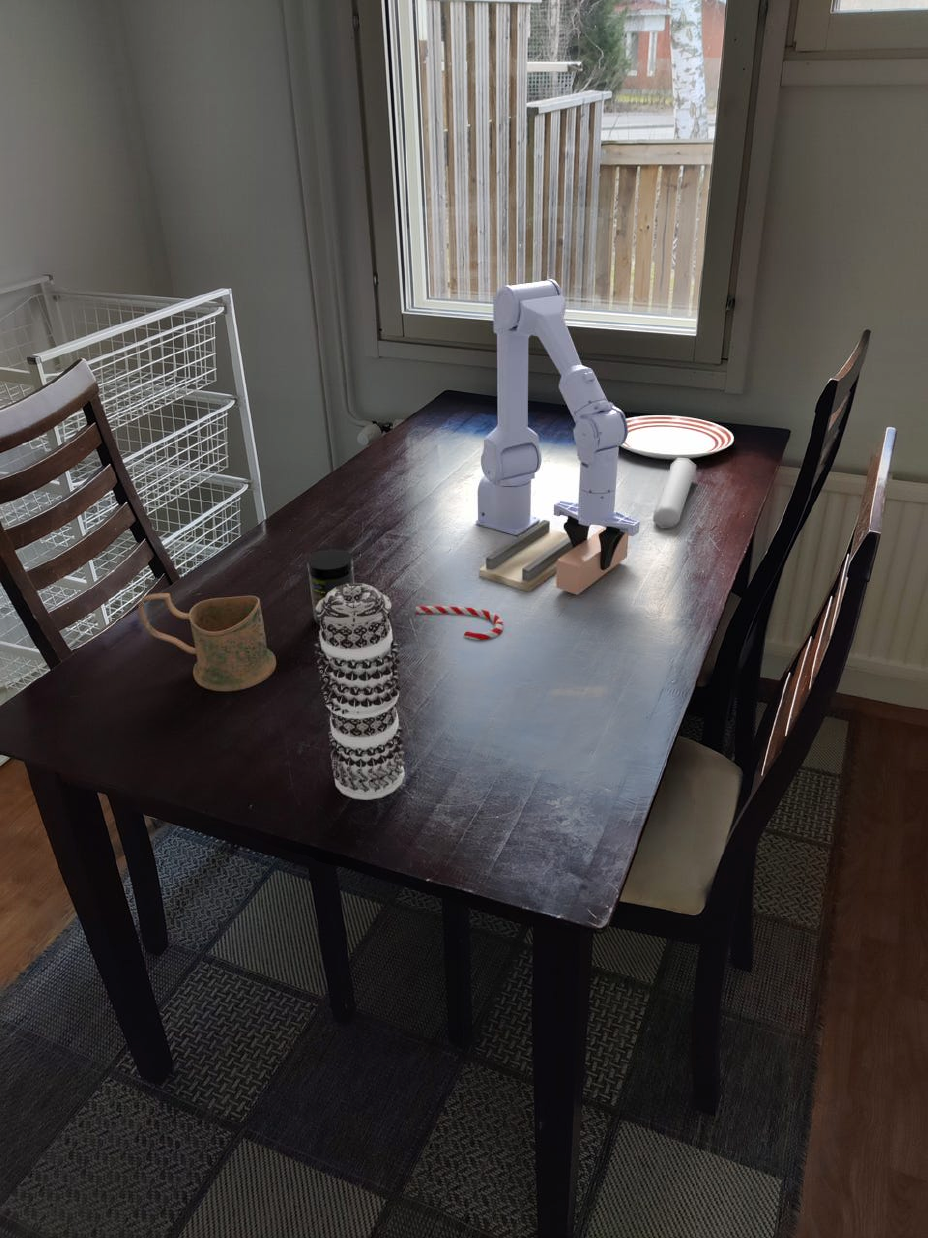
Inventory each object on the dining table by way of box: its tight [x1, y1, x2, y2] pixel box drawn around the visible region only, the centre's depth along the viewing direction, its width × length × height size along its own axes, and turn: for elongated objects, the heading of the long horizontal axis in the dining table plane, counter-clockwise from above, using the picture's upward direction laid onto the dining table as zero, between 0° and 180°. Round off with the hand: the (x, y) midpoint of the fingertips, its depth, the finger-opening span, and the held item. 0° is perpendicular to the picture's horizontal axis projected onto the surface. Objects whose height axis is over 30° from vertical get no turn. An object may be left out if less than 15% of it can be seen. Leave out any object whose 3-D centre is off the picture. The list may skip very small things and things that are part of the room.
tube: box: [652, 458, 697, 530], centre depth 176 cm, size 5×5×25 cm
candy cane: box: [414, 605, 504, 641], centre depth 141 cm, size 8×1×15 cm
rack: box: [478, 519, 573, 592], centre depth 157 cm, size 10×20×3 cm, turn 143°
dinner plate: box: [619, 414, 735, 461], centre depth 204 cm, size 27×27×3 cm
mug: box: [138, 592, 277, 692], centre depth 128 cm, size 12×18×12 cm, turn 88°
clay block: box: [555, 527, 629, 595], centre depth 151 cm, size 4×16×5 cm, turn 143°
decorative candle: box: [314, 582, 406, 801], centre depth 104 cm, size 9×9×25 cm
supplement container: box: [306, 548, 355, 626], centre depth 140 cm, size 7×7×10 cm
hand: (592, 563), depth 151 cm, fingers closed on clay block, 4 cm apart
